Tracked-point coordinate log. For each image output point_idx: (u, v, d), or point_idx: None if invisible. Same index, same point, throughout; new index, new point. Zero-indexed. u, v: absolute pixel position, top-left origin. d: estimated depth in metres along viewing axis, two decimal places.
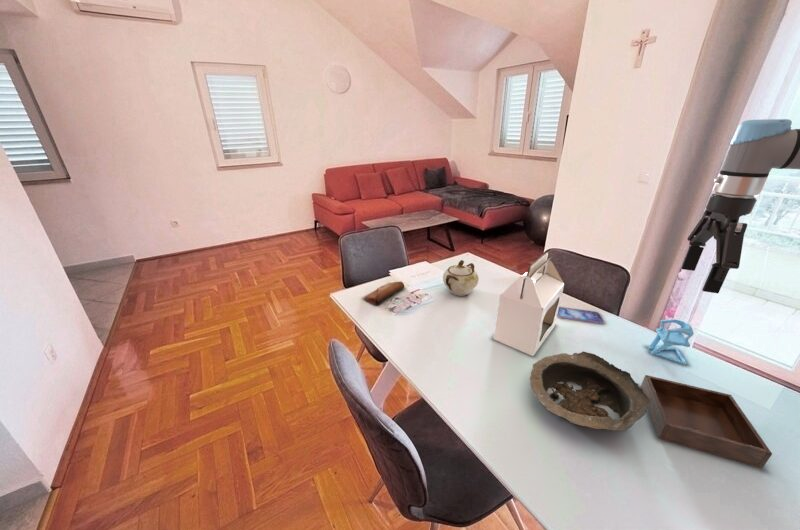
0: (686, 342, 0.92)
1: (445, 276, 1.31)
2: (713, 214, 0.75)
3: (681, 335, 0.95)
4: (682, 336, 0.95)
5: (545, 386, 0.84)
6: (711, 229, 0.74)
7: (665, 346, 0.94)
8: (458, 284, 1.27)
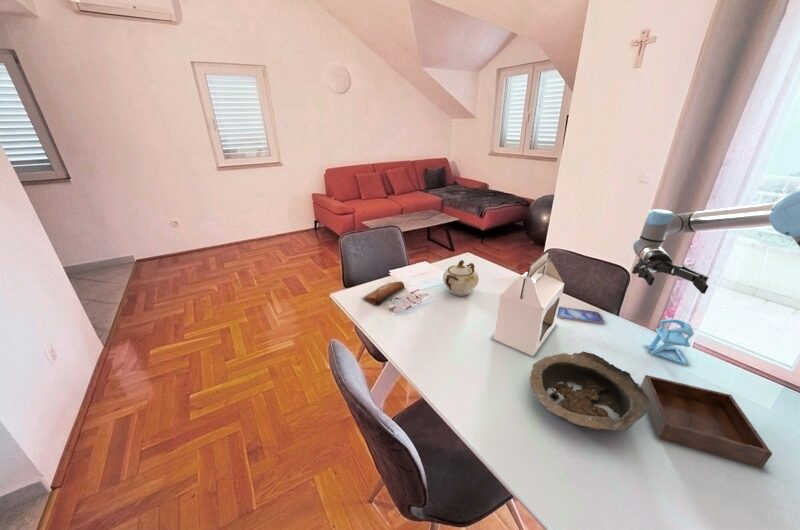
0: (686, 342, 0.92)
1: (445, 276, 1.31)
2: None
3: (681, 335, 0.95)
4: (682, 336, 0.95)
5: (545, 386, 0.84)
6: None
7: (665, 346, 0.94)
8: (458, 284, 1.27)
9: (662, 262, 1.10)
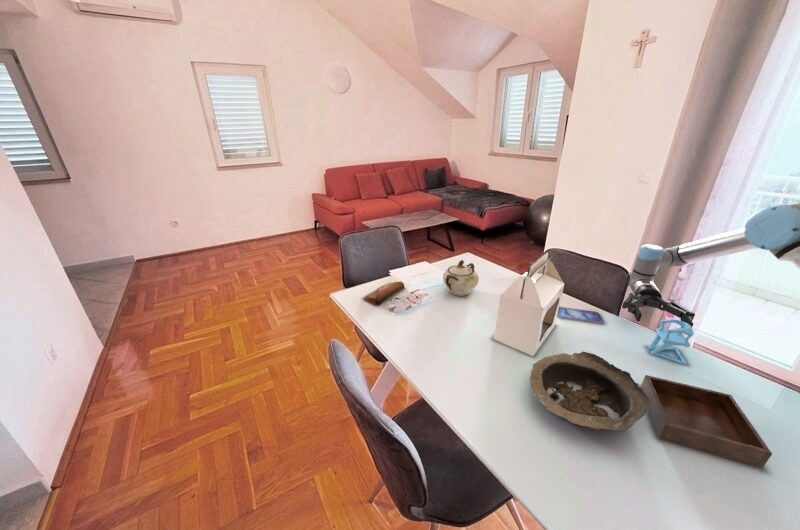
0: (686, 342, 0.92)
1: (445, 276, 1.31)
2: None
3: (681, 335, 0.95)
4: (682, 336, 0.95)
5: (545, 386, 0.84)
6: None
7: (665, 346, 0.94)
8: (458, 284, 1.27)
9: (652, 297, 1.14)
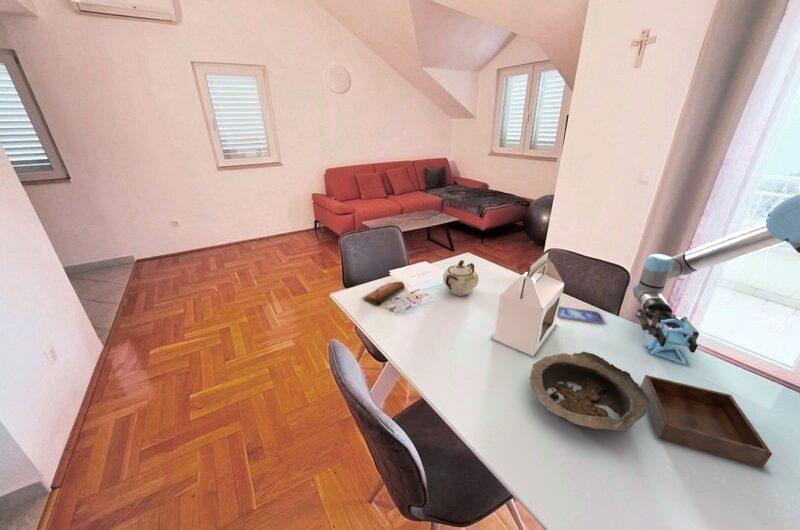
0: (686, 342, 0.92)
1: (445, 276, 1.31)
2: None
3: (681, 335, 0.95)
4: (682, 336, 0.95)
5: (545, 386, 0.84)
6: None
7: (665, 346, 0.94)
8: (458, 284, 1.27)
9: (661, 312, 1.05)
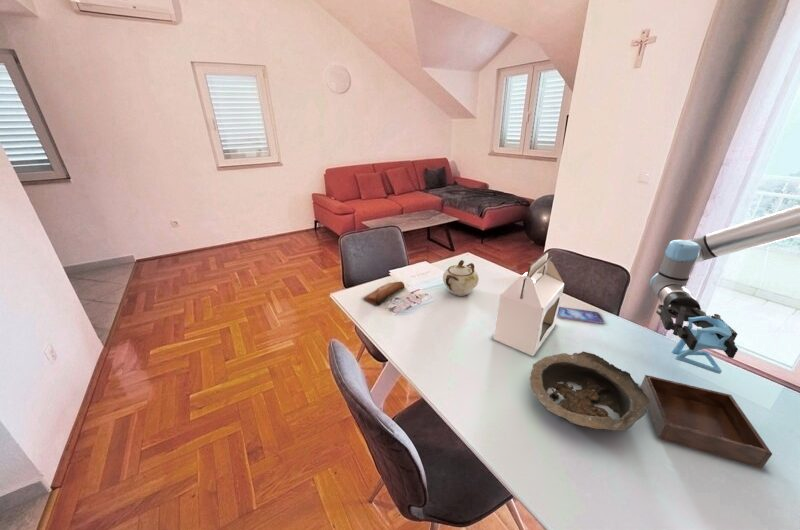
0: (722, 345, 0.74)
1: (445, 276, 1.31)
2: None
3: (714, 336, 0.77)
4: (716, 337, 0.77)
5: (545, 386, 0.84)
6: None
7: (694, 349, 0.76)
8: (458, 284, 1.27)
9: (687, 308, 0.87)
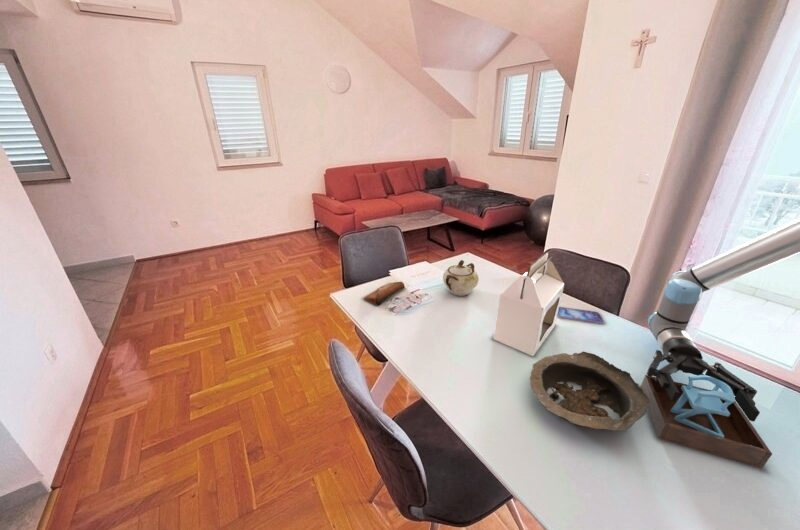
0: (724, 410, 0.69)
1: (445, 276, 1.31)
2: None
3: (716, 397, 0.72)
4: (717, 399, 0.72)
5: (545, 386, 0.84)
6: None
7: (695, 413, 0.71)
8: (458, 284, 1.27)
9: (688, 357, 0.81)
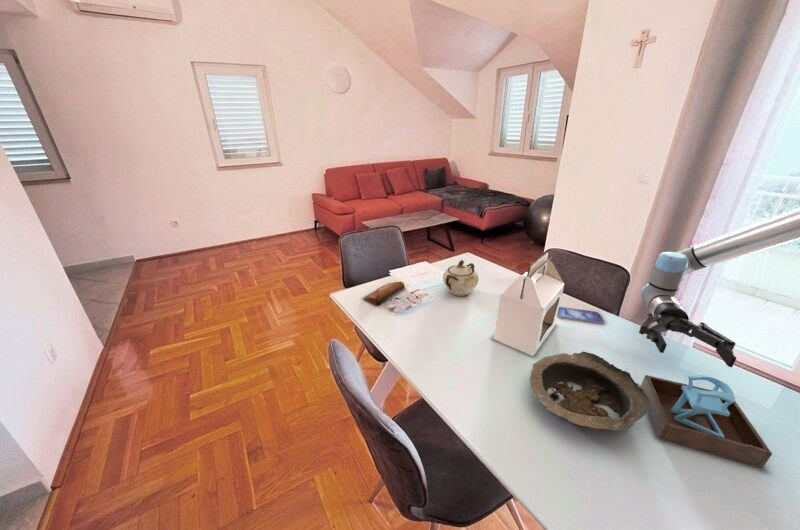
0: (724, 410, 0.69)
1: (445, 276, 1.31)
2: None
3: (716, 397, 0.72)
4: (717, 399, 0.72)
5: (545, 386, 0.84)
6: None
7: (695, 413, 0.71)
8: (458, 284, 1.27)
9: (676, 319, 0.91)
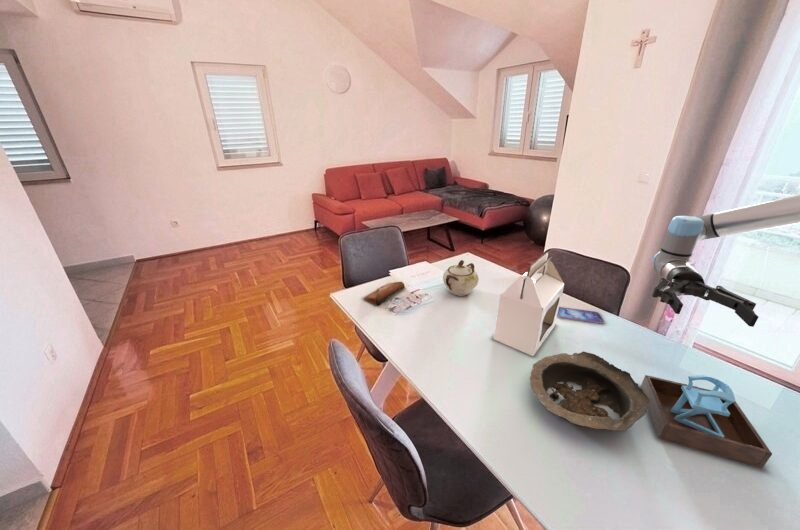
0: (724, 410, 0.69)
1: (445, 276, 1.31)
2: None
3: (716, 397, 0.72)
4: (717, 399, 0.72)
5: (545, 386, 0.84)
6: None
7: (695, 413, 0.71)
8: (458, 284, 1.27)
9: (691, 282, 0.86)
